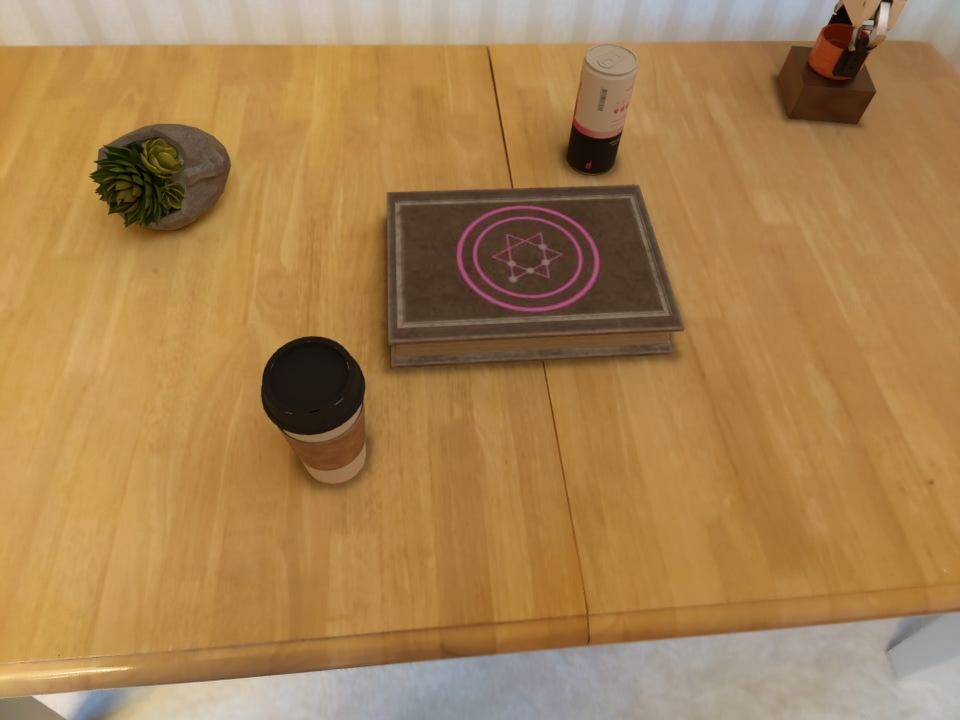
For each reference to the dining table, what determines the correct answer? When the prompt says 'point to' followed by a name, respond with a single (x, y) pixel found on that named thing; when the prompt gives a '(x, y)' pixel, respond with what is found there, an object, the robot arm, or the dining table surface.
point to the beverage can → (601, 107)
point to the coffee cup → (318, 405)
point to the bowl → (832, 48)
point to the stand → (822, 91)
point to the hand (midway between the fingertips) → (837, 58)
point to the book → (525, 276)
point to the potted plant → (162, 175)
